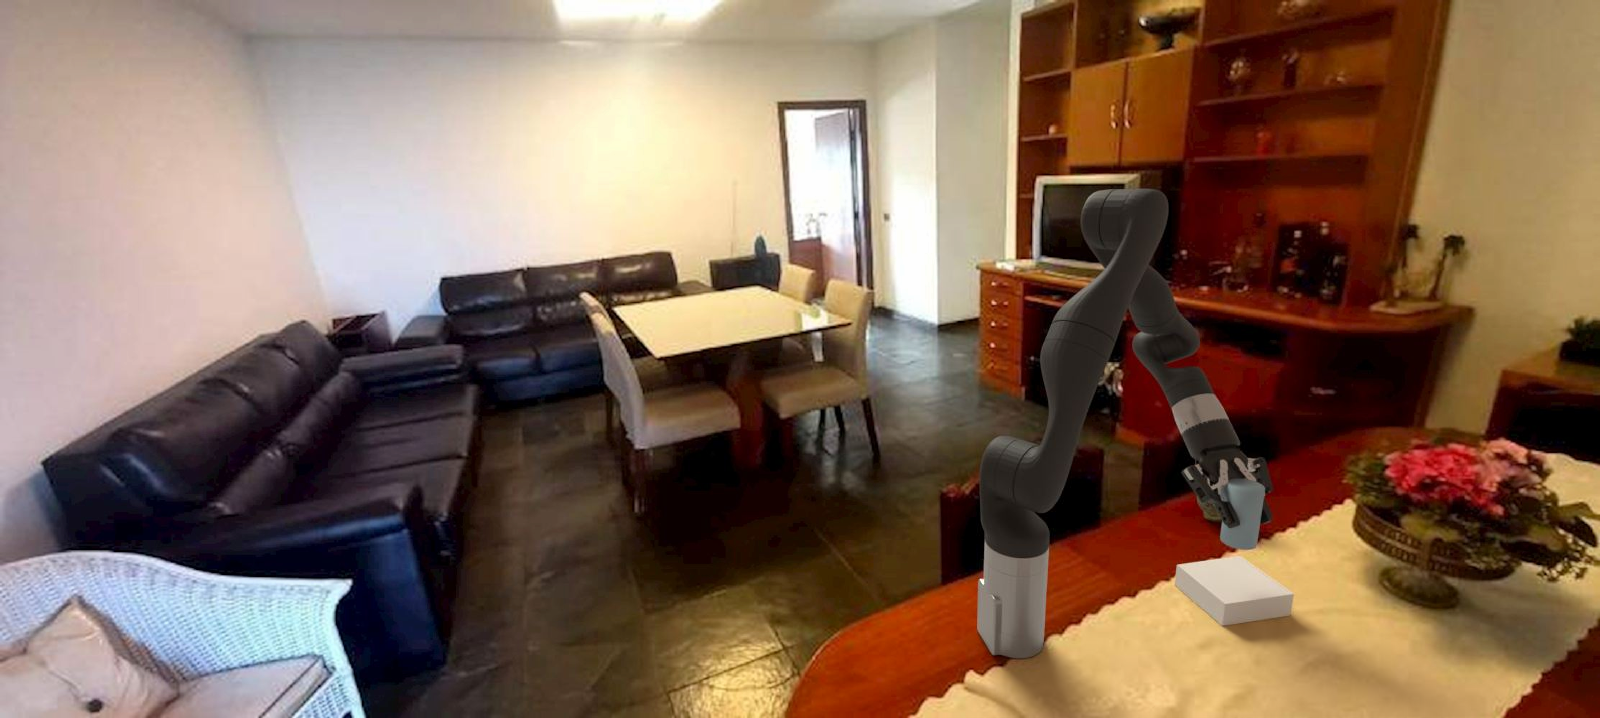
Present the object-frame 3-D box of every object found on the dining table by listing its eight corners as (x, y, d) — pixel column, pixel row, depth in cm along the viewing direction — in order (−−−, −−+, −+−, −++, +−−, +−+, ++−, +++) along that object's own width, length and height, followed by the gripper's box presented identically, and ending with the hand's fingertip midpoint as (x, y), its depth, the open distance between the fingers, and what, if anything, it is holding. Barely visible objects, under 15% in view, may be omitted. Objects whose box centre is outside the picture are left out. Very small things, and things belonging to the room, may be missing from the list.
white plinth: (1222, 625, 105) (1225, 604, 104) (1174, 584, 115) (1176, 564, 114) (1290, 615, 106) (1294, 593, 105) (1237, 575, 117) (1240, 555, 116)
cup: (1228, 511, 138) (1233, 476, 135) (1240, 529, 131) (1245, 492, 129) (1187, 508, 140) (1192, 473, 137) (1197, 526, 133) (1202, 489, 131)
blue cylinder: (1236, 551, 105) (1244, 494, 102) (1212, 535, 110) (1219, 480, 107) (1264, 547, 106) (1273, 490, 103) (1240, 531, 111) (1247, 476, 108)
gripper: (1178, 421, 109) (1224, 523, 101) (1257, 412, 111) (1308, 512, 103) (1153, 439, 115) (1195, 536, 107) (1228, 430, 117) (1275, 525, 109)
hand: (1250, 524), depth 105 cm, fingers closed on blue cylinder, 5 cm apart
